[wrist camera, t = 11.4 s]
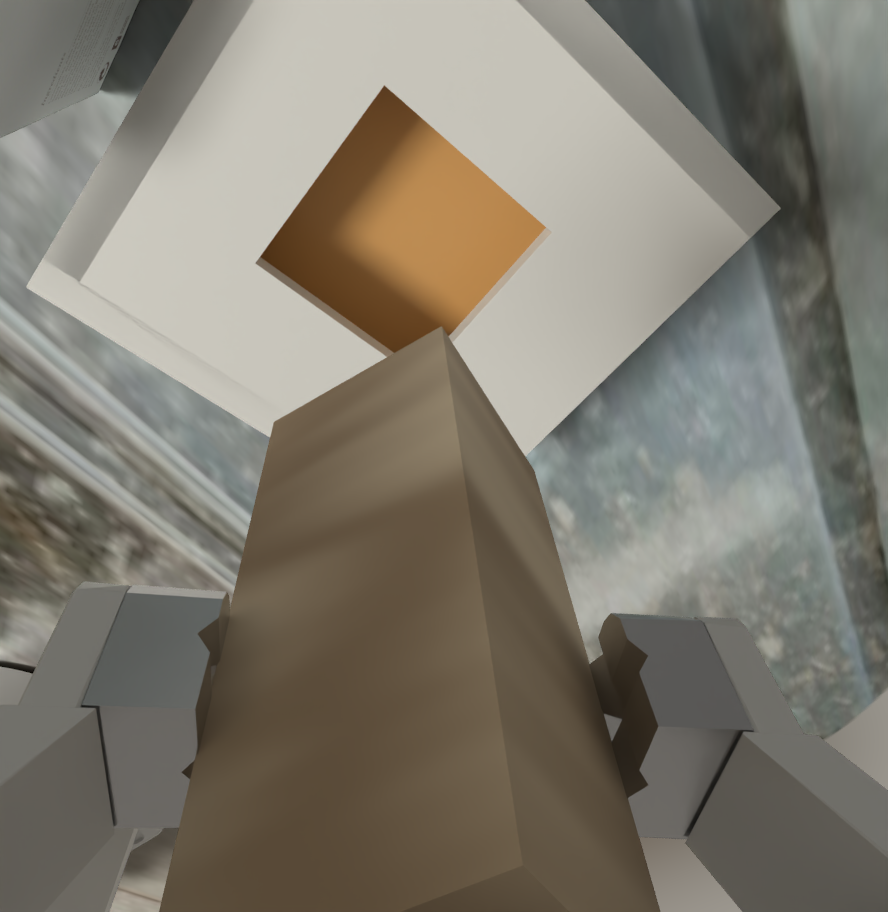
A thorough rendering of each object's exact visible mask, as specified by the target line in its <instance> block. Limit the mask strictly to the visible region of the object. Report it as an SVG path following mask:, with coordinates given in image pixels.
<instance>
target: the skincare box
mask: <svg viewBox="0 0 888 912" xmlns="http://www.w3.org/2000/svg"><path fill="white" fill-rule="evenodd" d="M138 2H139V0H0V138H1V137H3V136H6V135H8V134H10V133H13V132H15V131H17V130H19V129H21V128H23V127H25V126H27V125H30V124H32V123H34V122H37V121H39V120H41V119H43V118H45V117H47V116H49V115H51V114H53V113H56V112H58V111H60V110H62V109H64V108H67V107H69V106H71V105H73V104H76V103H78V102H80V101H82V100H84V99H87V98H89V97H91V96H93V95H95V94H97V93H98V92H99V90H100V88H101V86H102V83H103V81H104V79H105V77H106V75H107V72H108V70H109V68H110V66H111V64H112V61H113V59H114V57H115V55H116V53H117V51H118V49H119V46H120V44H121V42H122V39H123V37H124V35H125V32H126V30H127V28H128V25H129V23H130V21H131V18H132V16H133V14H134V11H135V9H136V7H137V5H138Z"/></svg>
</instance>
